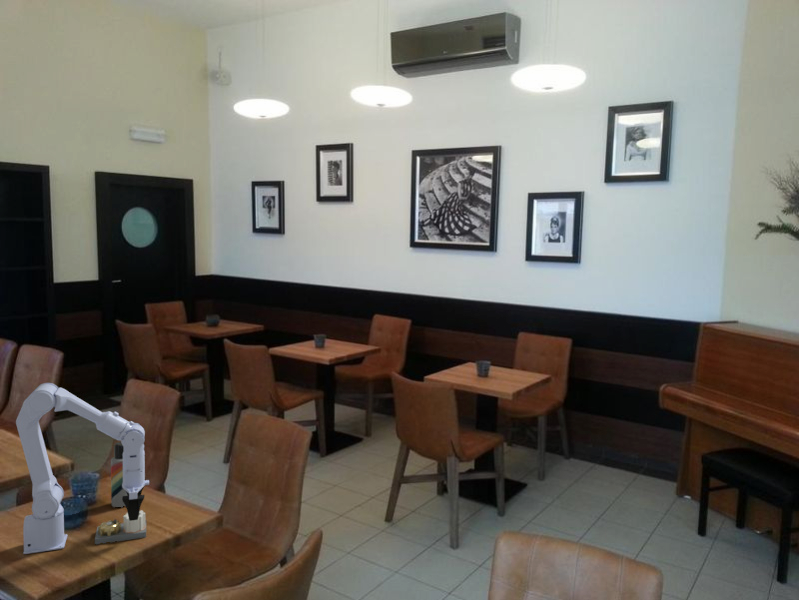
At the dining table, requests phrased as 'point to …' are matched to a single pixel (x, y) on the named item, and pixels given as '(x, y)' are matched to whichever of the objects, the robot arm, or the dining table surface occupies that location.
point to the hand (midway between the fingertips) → (134, 514)
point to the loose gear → (134, 523)
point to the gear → (109, 528)
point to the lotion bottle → (117, 476)
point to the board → (120, 535)
